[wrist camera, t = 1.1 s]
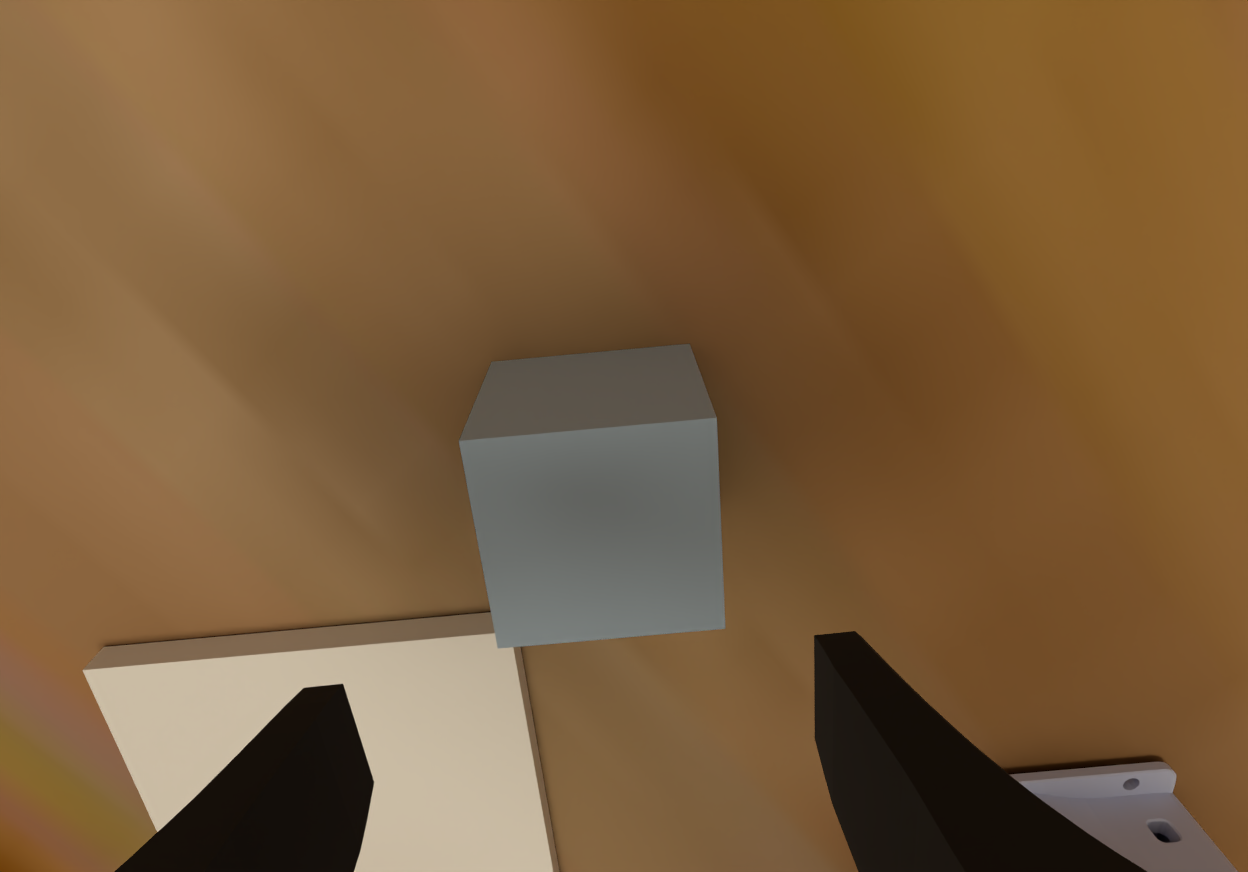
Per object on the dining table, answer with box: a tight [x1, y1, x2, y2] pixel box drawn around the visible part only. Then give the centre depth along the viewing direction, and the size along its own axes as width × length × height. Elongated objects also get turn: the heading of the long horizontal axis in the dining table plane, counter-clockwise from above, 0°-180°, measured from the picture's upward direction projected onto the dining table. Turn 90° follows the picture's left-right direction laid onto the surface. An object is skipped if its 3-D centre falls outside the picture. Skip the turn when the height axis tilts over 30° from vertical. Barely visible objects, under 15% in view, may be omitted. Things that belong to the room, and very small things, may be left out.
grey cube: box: [459, 344, 725, 649], centre depth 18 cm, size 5×5×5 cm
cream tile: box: [83, 612, 559, 872], centre depth 24 cm, size 12×12×1 cm
